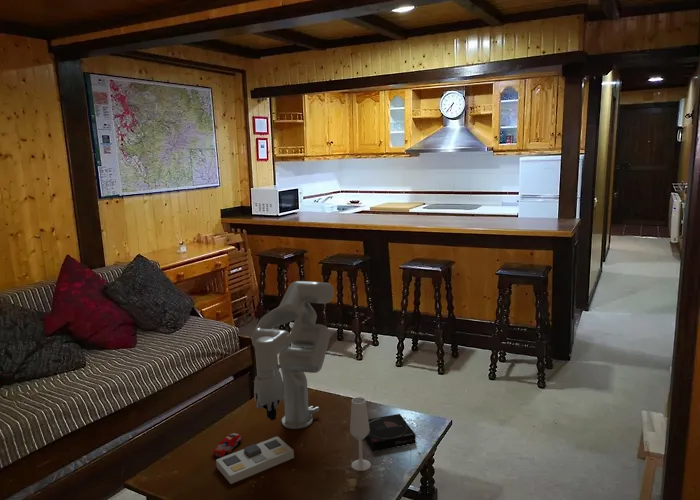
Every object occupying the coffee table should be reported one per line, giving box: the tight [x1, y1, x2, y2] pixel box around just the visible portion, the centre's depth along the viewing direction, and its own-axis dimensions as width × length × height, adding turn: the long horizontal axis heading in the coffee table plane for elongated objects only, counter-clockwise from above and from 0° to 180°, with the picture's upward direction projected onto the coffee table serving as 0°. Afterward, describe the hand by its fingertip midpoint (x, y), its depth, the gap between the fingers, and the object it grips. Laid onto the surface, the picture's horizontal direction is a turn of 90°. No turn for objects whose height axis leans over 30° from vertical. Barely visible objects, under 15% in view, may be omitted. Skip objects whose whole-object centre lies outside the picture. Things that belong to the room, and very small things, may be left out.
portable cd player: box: [364, 413, 417, 452], centre depth 202 cm, size 16×17×4 cm
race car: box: [212, 432, 243, 458], centre depth 198 cm, size 13×5×4 cm, turn 155°
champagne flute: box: [349, 396, 372, 472], centre depth 182 cm, size 7×7×24 cm
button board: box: [215, 435, 295, 485], centre depth 188 cm, size 24×12×3 cm, turn 126°
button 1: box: [223, 455, 240, 466], centre depth 185 cm, size 4×4×3 cm
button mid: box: [243, 443, 261, 458], centre depth 189 cm, size 4×4×3 cm
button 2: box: [265, 440, 281, 450], centre depth 194 cm, size 4×4×3 cm
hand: (272, 418), depth 193 cm, fingers closed
